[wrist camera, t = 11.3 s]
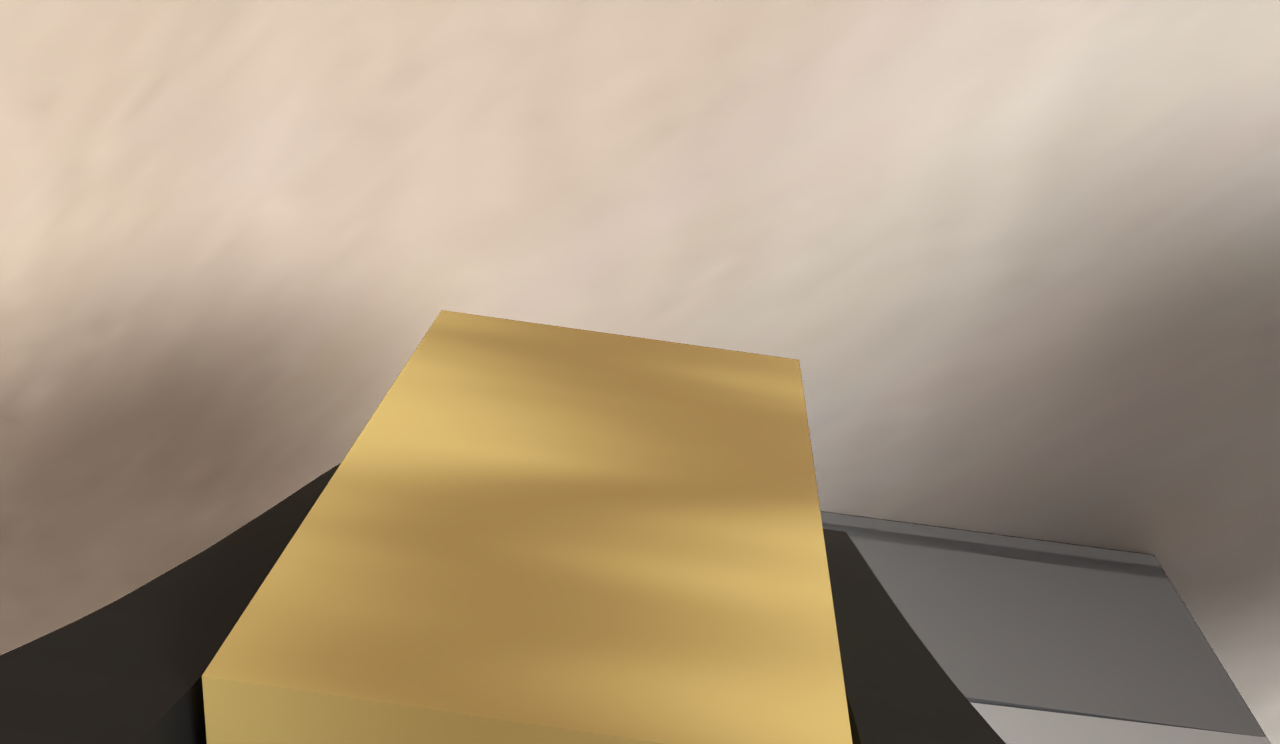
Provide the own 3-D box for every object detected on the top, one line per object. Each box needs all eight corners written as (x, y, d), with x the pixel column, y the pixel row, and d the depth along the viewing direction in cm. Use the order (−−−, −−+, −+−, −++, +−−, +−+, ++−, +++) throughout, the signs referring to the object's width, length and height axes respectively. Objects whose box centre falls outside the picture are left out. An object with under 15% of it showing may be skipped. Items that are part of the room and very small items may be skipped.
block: (799, 359, 12) (856, 771, 6) (742, 645, 14) (749, 1159, 8) (440, 310, 12) (200, 676, 7) (429, 600, 14) (231, 1082, 8)
